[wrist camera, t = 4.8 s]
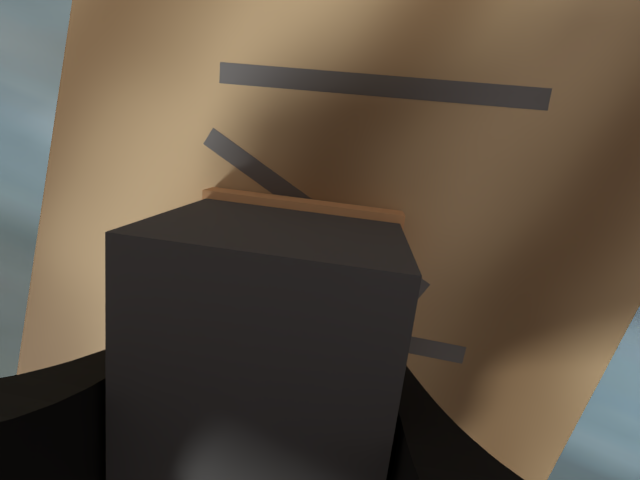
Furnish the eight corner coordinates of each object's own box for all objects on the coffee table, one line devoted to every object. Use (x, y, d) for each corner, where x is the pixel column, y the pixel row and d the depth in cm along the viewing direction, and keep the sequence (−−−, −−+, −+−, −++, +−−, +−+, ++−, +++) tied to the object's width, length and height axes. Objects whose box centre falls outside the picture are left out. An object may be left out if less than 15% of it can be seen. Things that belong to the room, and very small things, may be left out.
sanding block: (402, 211, 11) (430, 263, 6) (356, 501, 13) (350, 714, 8) (213, 186, 11) (98, 218, 6) (197, 472, 13) (101, 658, 9)
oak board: (873, -221, 9) (947, -275, 8) (456, 596, 15) (464, 635, 14) (171, -412, 10) (144, -490, 9) (30, 445, 15) (2, 469, 14)
